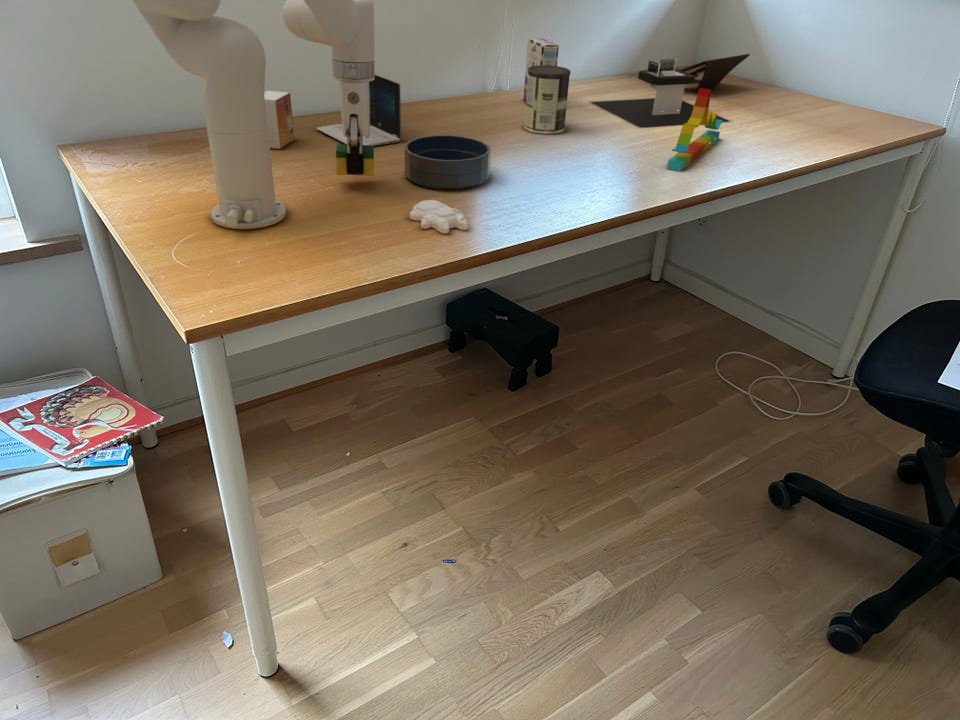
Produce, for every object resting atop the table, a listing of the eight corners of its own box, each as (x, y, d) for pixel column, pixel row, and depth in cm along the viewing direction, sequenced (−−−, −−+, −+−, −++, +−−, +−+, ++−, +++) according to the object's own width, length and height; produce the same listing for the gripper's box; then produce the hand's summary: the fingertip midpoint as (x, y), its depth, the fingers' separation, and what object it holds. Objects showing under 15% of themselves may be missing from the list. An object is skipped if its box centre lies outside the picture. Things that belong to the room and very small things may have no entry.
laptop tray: (692, 97, 245) (686, 69, 243) (753, 77, 226) (748, 46, 224) (648, 106, 232) (642, 76, 230) (710, 85, 213) (704, 53, 211)
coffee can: (553, 121, 189) (558, 64, 182) (571, 133, 181) (578, 73, 174) (516, 124, 186) (521, 65, 178) (534, 135, 178) (539, 74, 170)
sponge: (373, 176, 140) (373, 152, 138) (336, 174, 139) (335, 151, 137) (373, 168, 144) (373, 145, 142) (337, 167, 143) (336, 144, 141)
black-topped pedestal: (674, 97, 218) (683, 50, 211) (729, 121, 198) (741, 69, 190) (591, 102, 209) (597, 52, 202) (640, 127, 188) (648, 72, 181)
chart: (705, 137, 183) (718, 74, 175) (718, 139, 182) (732, 76, 174) (665, 168, 161) (678, 97, 153) (680, 171, 160) (693, 100, 152)
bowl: (494, 191, 144) (495, 161, 141) (406, 191, 142) (406, 160, 139) (483, 163, 159) (484, 135, 155) (403, 163, 156) (403, 134, 153)
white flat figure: (431, 237, 124) (431, 220, 122) (402, 212, 133) (402, 196, 131) (476, 229, 128) (477, 213, 126) (445, 206, 136) (446, 190, 135)
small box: (280, 149, 160) (275, 100, 155) (256, 147, 161) (250, 97, 155) (295, 139, 167) (290, 92, 161) (272, 137, 168) (267, 89, 162)
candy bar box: (553, 109, 200) (559, 45, 191) (536, 110, 199) (542, 45, 190) (538, 99, 209) (544, 37, 200) (522, 99, 208) (527, 37, 199)
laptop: (315, 130, 174) (311, 72, 167) (361, 123, 180) (359, 67, 173) (354, 150, 162) (351, 89, 155) (401, 142, 169) (401, 83, 162)
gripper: (374, 80, 126) (375, 184, 135) (374, 62, 140) (375, 157, 149) (330, 78, 124) (333, 182, 134) (334, 60, 139) (337, 156, 148)
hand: (355, 168), depth 141 cm, fingers closed on sponge, 4 cm apart
